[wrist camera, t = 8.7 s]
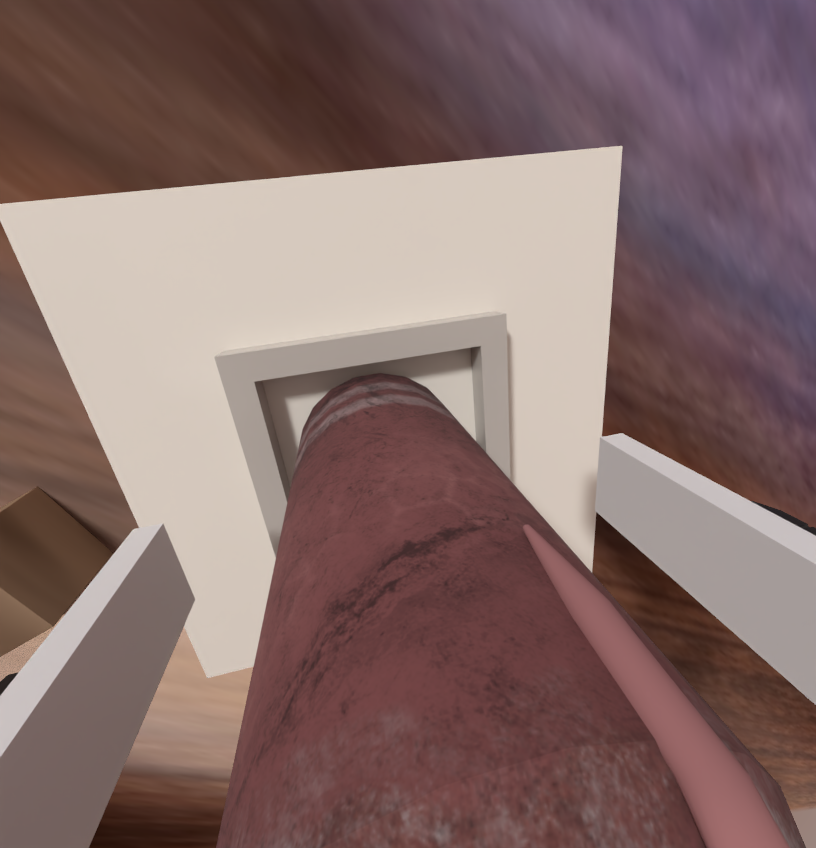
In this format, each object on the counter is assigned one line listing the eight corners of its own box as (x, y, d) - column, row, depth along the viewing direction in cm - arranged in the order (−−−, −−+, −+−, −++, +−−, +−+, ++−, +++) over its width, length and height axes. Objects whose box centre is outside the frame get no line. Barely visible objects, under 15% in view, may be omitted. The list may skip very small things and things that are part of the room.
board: (215, 650, 20) (199, 703, 17) (30, 213, 13) (-45, 196, 10) (575, 564, 22) (605, 600, 20) (595, 158, 15) (648, 133, 13)
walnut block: (36, 596, 17) (-44, 682, 14) (-45, 534, 16) (-162, 612, 12) (113, 552, 17) (53, 626, 13) (38, 485, 16) (-53, 548, 12)
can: (467, 376, 16) (1116, 850, 3) (432, 512, 18) (707, 1164, 5) (313, 350, 14) (99, 1093, 1) (293, 501, 16) (132, 1398, 3)
